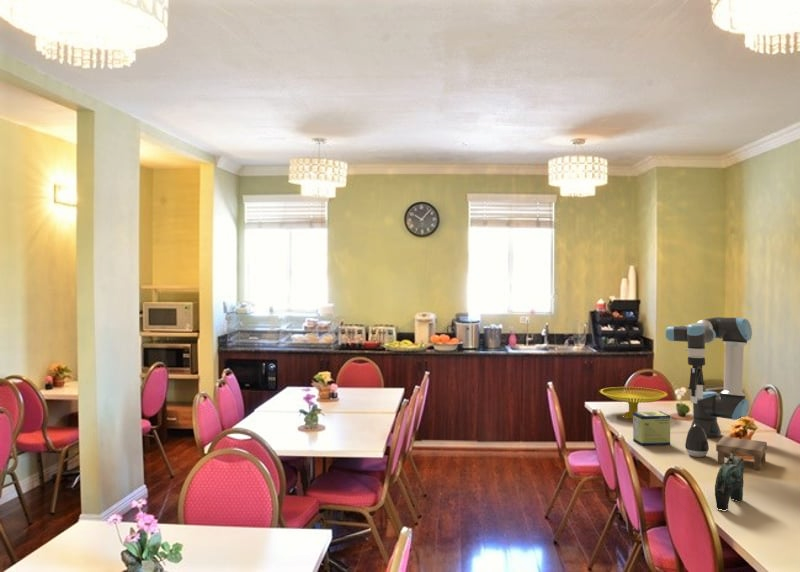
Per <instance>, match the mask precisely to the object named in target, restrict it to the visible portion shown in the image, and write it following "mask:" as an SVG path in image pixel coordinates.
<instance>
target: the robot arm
mask: <svg viewBox="0 0 800 572" xmlns="http://www.w3.org/2000/svg"><path fill="white" fill-rule="evenodd" d="M752 337H753V330H752V325H751V324H750V322H749V319H747V318H743V317H723V316H722V317H719V316H718V317H717V316H715V317H710V318H705V319H701V320H698V321H696V322H693V323H689V324H684V325H680V326H674V325H672V326H671V325H670V326H668V327H666V329H665V338H666V339H667V341H669V342H670V341H672V342H685V343H687V349H686V352H687V356H688V357H687V364H688V366H692V367H691V368H690V377H689V384H688V385H689V386H688V390H689V391H690V395H689V396H690V403H691V404H692V415H693V419H692V422H691V425H690V428H691V426H692V425H694V424H697V425H700V426H701V427H702V428H703V429H704V431H705V434H706V437H707V438H710V439H711V438H712V439H713V438H719V437H721V436H722V431H721V429H720V425H719V422H718V418H721V419H727V420H732V421H738V420H737V419H739V418H741V417H747V416H748V413H749V411H750V401H749V400H748V399H747V398H746V395H745V393H744V392H743V374H744V373H743V372H744V371H743V370H744V353H745V352H744V349H745V346H746V345H748V341H751V339H752ZM715 339H721V340H722V343H723V344H724V345H725V347H724V348H725V349H724V371H723V375H724V376H723V390H721V391H720V394H719V395H718V393H717V392H716V391H704V386H705V384H706V383H705V381H704V372H703V366H705V365H706V358H705V357H706V344H710V343H711V342H713V341H714V340H715ZM690 428H689V429H690Z"/></svg>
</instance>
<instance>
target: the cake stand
mask: <svg viewBox="0 0 800 572" xmlns="http://www.w3.org/2000/svg"><path fill="white" fill-rule="evenodd" d="M598 392H599V393H600V394H602V395H604V396H605V397H607V398H609V399H611V400H614V401H618V402H625V403H627V404H628V411H627V412H625V413H622V414H621V417H622V416H624V417H623V418H625V417H628V418H627V419H631V418H633V412H639V410H638V407H639V406H638V405H639V403H642V404H645V403H647V404H648V403H653V402H657V401H659V400H661V399H664V398H666V397H668V396H669V393H668V392H666V391H662V390H658V389H654V388H648V387H647V388H646V387H637V386H617V387H616V386H615V387H614V386H613V387H604V388H602V389H600V390H598Z"/></svg>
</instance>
